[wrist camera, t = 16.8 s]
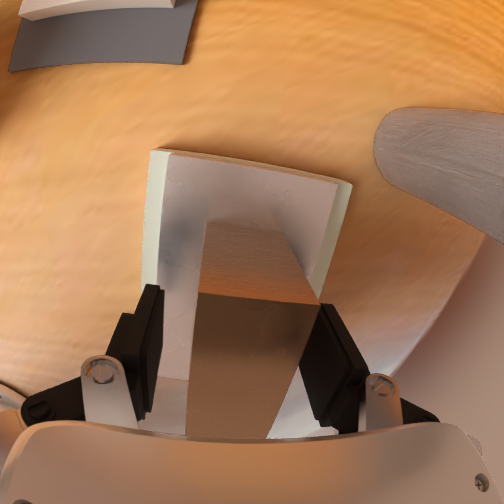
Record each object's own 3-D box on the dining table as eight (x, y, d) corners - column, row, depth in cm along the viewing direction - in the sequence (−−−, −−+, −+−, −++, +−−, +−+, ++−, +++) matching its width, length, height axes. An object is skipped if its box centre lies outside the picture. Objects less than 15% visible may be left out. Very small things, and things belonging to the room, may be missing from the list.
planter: (367, 184, 14) (527, 281, 5) (376, 98, 13) (560, 105, 3) (432, 193, 15) (574, 275, 6) (442, 118, 13) (600, 152, 4)
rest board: (286, 363, 19) (289, 377, 18) (146, 350, 17) (143, 363, 16) (343, 179, 14) (352, 184, 13) (156, 147, 13) (150, 150, 12)
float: (272, 376, 17) (291, 464, 12) (157, 366, 16) (142, 457, 11) (331, 180, 13) (409, 229, 7) (171, 152, 12) (126, 180, 6)
